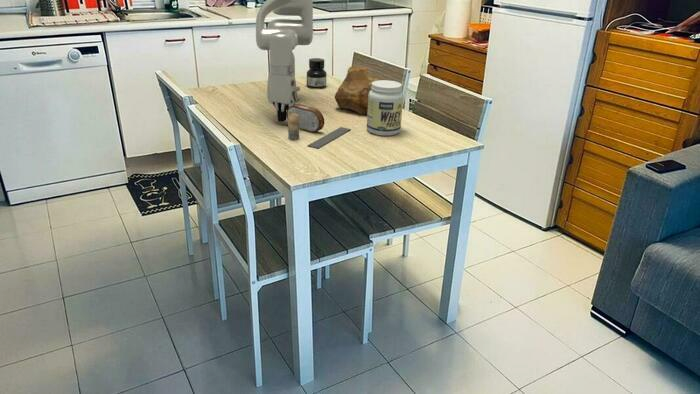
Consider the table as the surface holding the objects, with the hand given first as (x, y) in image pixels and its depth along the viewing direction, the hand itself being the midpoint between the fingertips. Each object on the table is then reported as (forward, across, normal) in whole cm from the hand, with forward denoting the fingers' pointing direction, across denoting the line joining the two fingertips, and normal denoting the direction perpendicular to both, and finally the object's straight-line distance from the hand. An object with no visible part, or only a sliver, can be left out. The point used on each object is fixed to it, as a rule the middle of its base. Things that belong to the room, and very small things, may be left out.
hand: (282, 121), depth 191 cm
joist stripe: (+1, -22, +3) cm, 22 cm away
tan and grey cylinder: (+1, -12, +10) cm, 15 cm away
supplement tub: (+1, -34, -14) cm, 37 cm away
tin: (+1, -10, 0) cm, 10 cm away
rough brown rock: (+1, -13, -32) cm, 34 cm away
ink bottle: (+1, +18, -52) cm, 55 cm away
